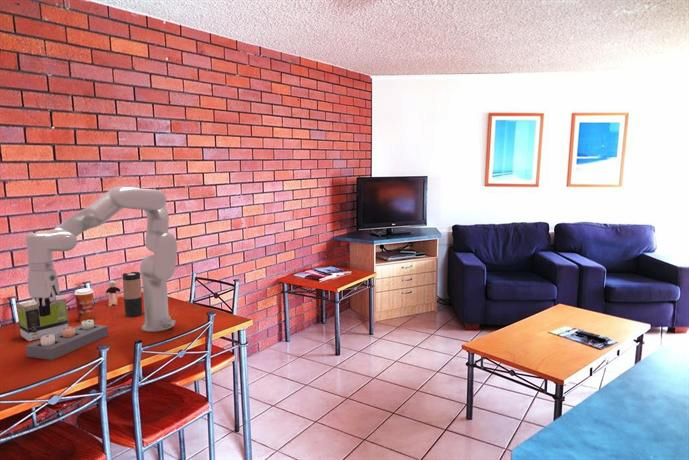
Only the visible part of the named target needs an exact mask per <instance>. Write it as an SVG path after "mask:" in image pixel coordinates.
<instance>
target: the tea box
mask: <svg viewBox="0 0 689 460" xmlns="http://www.w3.org/2000/svg"><path fill="white" fill-rule="evenodd" d="M16 306H17V313H18V323H19V331H20V337H22V338H23V339H25V340H26V341H28V342H31V341H36V340H39V339H40V340H41V338H40V337H42V336H44V335H49V334H53V335H56V334H58V333H61V332H62V329H63V328H66V327H70V326H69V318H68V309H67V299H66V298H64V297H62V296H61V295H58V296H56V300H55V301H52V302H51V304H50V312H51V314H50V315H48V316H45V317H42V316H39V306H38V305H37V302H36V301H35V300H33V299H30V300H25V301H19V302H17V303H16Z"/></svg>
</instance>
